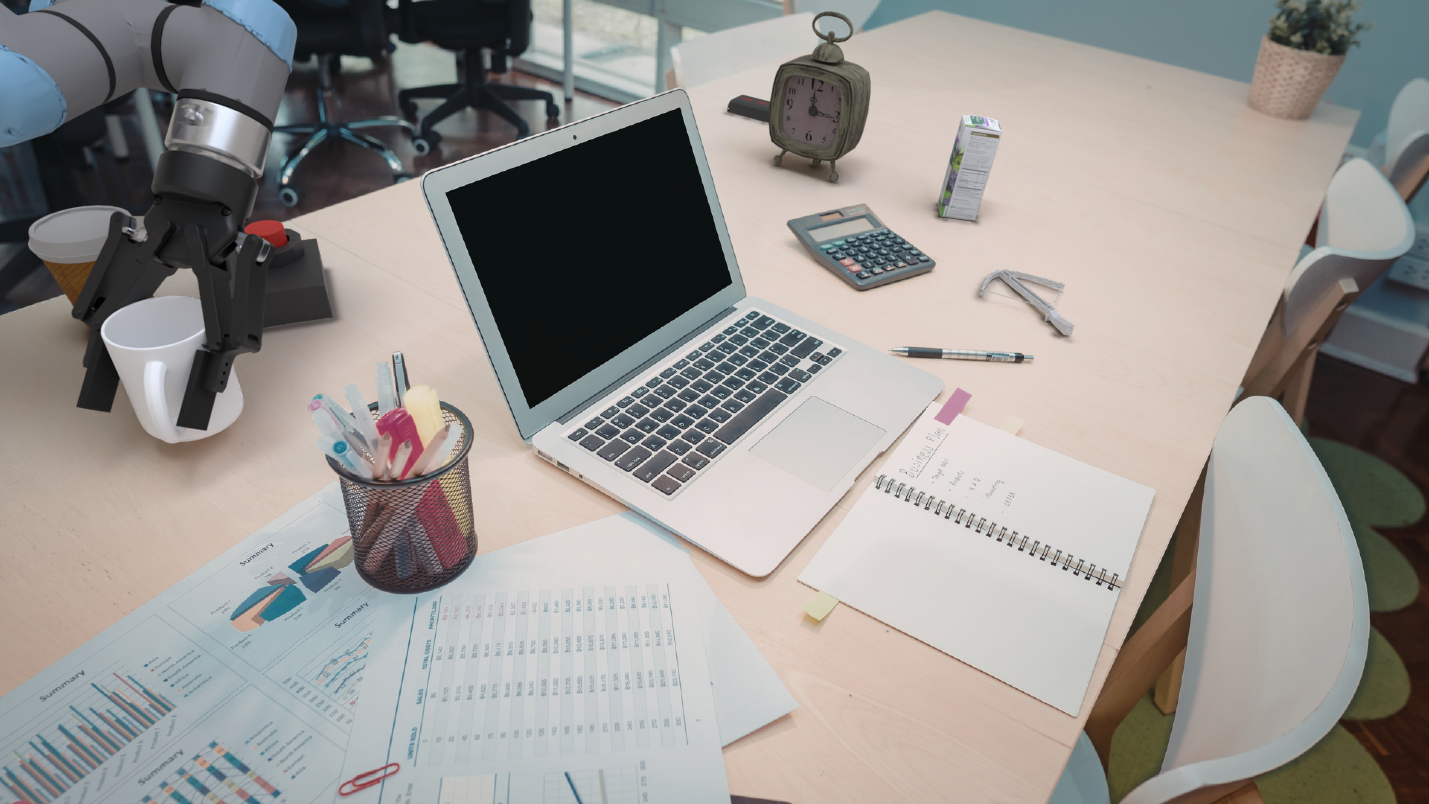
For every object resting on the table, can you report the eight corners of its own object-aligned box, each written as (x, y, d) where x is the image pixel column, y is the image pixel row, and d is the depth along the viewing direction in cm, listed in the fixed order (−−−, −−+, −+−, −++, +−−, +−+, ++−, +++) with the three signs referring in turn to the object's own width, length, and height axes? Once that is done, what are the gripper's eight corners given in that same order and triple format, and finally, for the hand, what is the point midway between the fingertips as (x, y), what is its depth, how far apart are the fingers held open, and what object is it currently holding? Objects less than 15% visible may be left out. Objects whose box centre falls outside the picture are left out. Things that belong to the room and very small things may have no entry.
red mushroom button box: (233, 279, 97) (218, 233, 94) (323, 267, 101) (312, 222, 98) (234, 332, 89) (217, 284, 85) (332, 317, 93) (321, 270, 89)
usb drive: (739, 105, 164) (741, 91, 162) (792, 119, 160) (794, 105, 158) (727, 111, 160) (728, 97, 159) (780, 126, 156) (782, 111, 154)
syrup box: (936, 202, 132) (959, 112, 123) (973, 207, 132) (999, 117, 123) (938, 217, 127) (963, 125, 119) (976, 222, 127) (1004, 130, 118)
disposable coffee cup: (148, 293, 94) (109, 195, 86) (193, 323, 89) (155, 223, 82) (56, 326, 87) (4, 223, 80) (98, 360, 83) (49, 255, 76)
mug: (232, 467, 70) (197, 372, 63) (121, 480, 68) (73, 382, 61) (251, 383, 79) (222, 292, 72) (153, 392, 76) (114, 298, 70)
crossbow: (958, 282, 112) (962, 269, 111) (1037, 277, 115) (1042, 264, 114) (1023, 339, 99) (1027, 324, 98) (1110, 331, 103) (1115, 317, 101)
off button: (248, 238, 94) (243, 222, 93) (286, 234, 96) (282, 218, 94) (249, 254, 91) (244, 237, 90) (288, 249, 93) (284, 232, 92)
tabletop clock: (762, 165, 139) (780, 7, 124) (786, 151, 146) (806, -1, 130) (838, 188, 134) (867, 25, 119) (860, 172, 140) (890, 16, 125)
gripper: (66, 128, 68) (-14, 391, 65) (300, 165, 66) (229, 436, 63) (134, 166, 76) (66, 403, 73) (347, 200, 74) (285, 445, 71)
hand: (142, 419), depth 68 cm, fingers closed on mug, 8 cm apart
